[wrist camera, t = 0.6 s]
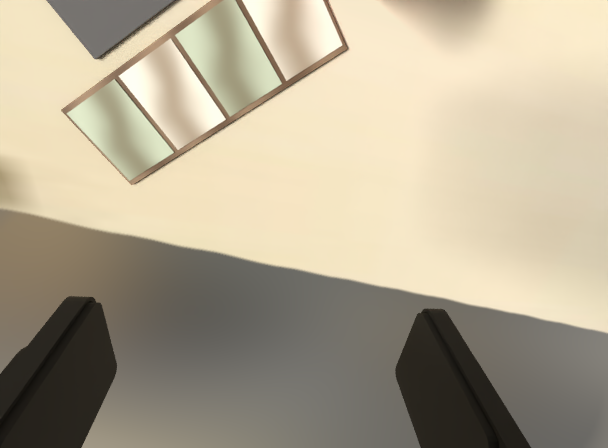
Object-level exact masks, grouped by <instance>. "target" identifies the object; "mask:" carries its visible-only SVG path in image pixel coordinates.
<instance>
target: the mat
mask: <svg viewBox="0 0 608 448" xmlns="http://www.w3.org/2000/svg"><path fill="white" fill-rule="evenodd" d="M47 1H48V3H49V4H50V5H51V6H52V8H53V9H54V10H55V11H56V12H57V14H58V15H59V16H60V17H61V18H62V20H63V21H64V22H65V23H66V25H67V26H68V27H69V28H70V29H71V31H72V32H73V33H74V34H75V36H76V37H77V38H78V39H79V40H80V42H81V43H82V44H83V45H84V47H85V48H86V49H87V50H88V51H89V53H90V54H91V55H92V56H93V58H94V59H98V58H99V57H100V56H102V55H103V54H104V53H106V52H107V51H108V50H110V49H111V48H112V47H114V46H115V45H116V44H118V43H119V42H120V41H122V40H123V39H124V38H126V37H127V36H129V35H130V34H131V33H133V32H134V31H135V30H137V29H138V28H139V27H141V26H142V25H143V24H145V23H146V22H147V21H149V20H150V19H151V18H153V17H154V16H155V15H157V14H158V13H159V12H161V11H162V10H163V9H165V8H166V7H167V6H169V5H170V4H171V3H173V2H174V1H175V0H47Z"/></svg>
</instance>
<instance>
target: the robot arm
mask: <svg viewBox="0 0 608 448" xmlns="http://www.w3.org/2000/svg"><path fill="white" fill-rule="evenodd" d="M116 370H117V363H116V360H115V355H114V352H113V348H112V344H111V340H110V336H109V332H108V328H107V324H106V320H105V316H104V312H103V309H102V305H101V303H96V301H95V299H94V298H93V297H74V296H73V297H72V296H70V297H67V298H66V299H65V300H64V301H63V302H62V304H61V305H60V306H59V307H58V308H57V310H56V311H55V312H54V314H53V315H52V316H51V317H50V318H49V320H48V321H47V322H46V323H45V325H44V326H43V327H42V329H41V330H40V331H39V332H38V333H37V335H36V336H35V337H34V338H33V340H32V341H31V342H30V343H29V345H28V346H27V347H25V348H23V349H21V351H19V352H18V353H17V354H16V355H15V357H14V358H13V359H12V360H11V362H10V363H9V364H8V365H7V366H6V368H5V369H4V370H3V371H2V373H1V374H0V448H81V447H82V445H83V443H84V441H85V439H86V436H87V435H88V432H89V430H90V428H91V426H92V424H93V422H94V420H95V418H96V416H97V413H98V411H99V409H100V407H101V405H102V403H103V400H104V399H105V396H106V394H107V392H108V390H109V388H110V386H111V383H112V382H113V379H114V377H115V374H116ZM396 378H397V382H398V384H399V387H400V390H401V393H402V396H403V399H404V401H405V404H406V407H407V410H408V413H409V416H410V418H411V421H412V424H413V427H414V430H415V432H416V435H417V438H418V441H419V444H420V446H421V448H531V447H530V445H529V444H528V442H527V441H526V439H525V437H524V436H523V434H522V433H521V431H520V429H519V427H518V426H517V424H516V423H515V421H514V419H513V418H512V416H511V415H510V413H509V412H508V410H507V408H506V407H505V405H504V403H503V402H502V400H501V399H500V397H499V395H498V394H497V392H496V391H495V389H494V387H493V386H492V384H491V383H490V381H489V379H488V378H487V376H486V374H485V373H484V371H483V370H482V368H481V366H480V365H479V363H478V362H477V360H476V359H475V357H474V356H473V354H472V352H471V351H470V349H469V348H468V346H467V344H466V343H465V341H464V340H463V338H462V336H461V335H460V333H459V331H458V330H457V328H456V327H455V325H454V324H453V322H452V320H451V319H450V317H449V316H448V314H447V312H446V311H445V310H443V309H424V310H423V311H422V312H421V313H418V314H417V316H416V319H415V321H414V324H413V326H412V329H411V331H410V333H409V336H408V338H407V341H406V344H405V346H404V348H403V351H402V353H401V356H400V358H399V361H398V363H397V366H396Z"/></svg>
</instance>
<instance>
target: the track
mask: <svg viewBox="0 0 608 448" xmlns="http://www.w3.org/2000/svg"><path fill="white" fill-rule="evenodd" d="M346 49H347V47H346V45H345V43H344V40H343V38H342V36H341V33H340V31H339V29H338V26H337V24H336V22H335V20H334V17H333V15H332V13H331V10H330V8H329V6H328V3H327V1H326V0H211V1H210V2H208V3H207V4H206V5H204V6H203V7H201V8H200V9H199V10H197V11H196V12H195V13H193V14H192V15H191V16H189V17H188V18H186V19H185V20H184V21H182V22H181V23H180V24H178V25H177V26H175V27H174V28H173V29H171V30H170V31H169V32H167V33H166V34H164V35H163V36H162V37H160V38H159V39H158V40H156V41H155V42H154V43H152V44H151V45H149V46H148V47H147V48H145V49H144V50H143V51H141V52H140V53H138V54H137V55H136V56H134V57H133V58H132V59H130V60H129V61H127V62H126V63H125V64H123V65H122V66H121V67H119V68H118V69H117V70H115V71H114V72H112V73H111V74H110V75H108V76H107V77H106V78H104V79H103V80H101V81H100V82H99V83H97V84H96V85H95V86H93V87H92V88H90V89H89V90H88V91H86V92H85V93H84V94H82V95H81V96H80V97H78V98H77V99H75V100H74V101H73V102H71V103H70V104H69V105H67V106H66V107H64V108H63V109H62V110H61V111H62V112H63V113H64V114H65V115H66V116H67V117H68V118H69V119H70V120H71V121H72V123H73V124H74V125H75V126H76V127H77V128H78V129H79V130H80V131H81V132H82V133H83V134H84V135H85V136H86V137H87V138H88V140H89V141H90V142H91V143H92V144H93V145H94V146H95V147H96V148H97V149H98V150H99V151H100V152H101V153H102V154H103V155H104V157H105V158H106V159H107V160H108V161H109V162H110V163H111V164H112V165H113V166H114V167H115V168H116V169H117V170H118V171H119V172H120V174H121V175H122V176H123V177H124V178H125V179H126V180H127V181H128V182H129V183H130V184H131V185H133V184H135V183H136V182H138V181H139V180H141V179H142V178H144V177H146V176H147V175H149V174H150V173H152V172H154V171H155V170H157V169H158V168H160V167H161V166H163V165H165V164H166V163H168V162H169V161H171V160H172V159H174V158H176V157H177V156H179V155H180V154H182V153H184V152H185V151H187V150H188V149H190V148H191V147H193V146H195V145H196V144H198V143H199V142H201V141H203V140H204V139H206V138H207V137H209V136H210V135H212V134H214V133H215V132H217V131H218V130H220V129H221V128H223V127H225V126H226V125H228V124H229V123H231V122H233V121H234V120H236V119H237V118H239V117H240V116H242V115H244V114H245V113H247V112H248V111H250V110H252V109H253V108H255V107H256V106H258V105H259V104H261V103H263V102H264V101H266V100H267V99H269V98H270V97H272V96H274V95H275V94H277V93H278V92H280V91H282V90H283V89H285V88H286V87H288V86H289V85H291V84H293V83H294V82H296V81H297V80H299V79H301V78H302V77H304V76H305V75H307V74H308V73H310V72H312V71H313V70H315V69H316V68H318V67H319V66H321V65H323V64H324V63H326V62H327V61H329V60H331V59H332V58H334V57H335V56H337V55H338V54H340V53H342V52H343V51H345V50H346Z"/></svg>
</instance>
